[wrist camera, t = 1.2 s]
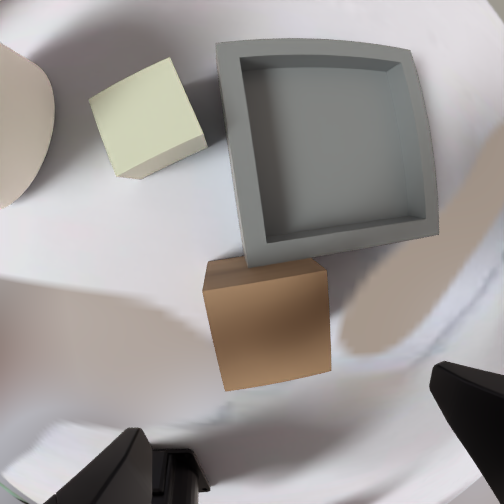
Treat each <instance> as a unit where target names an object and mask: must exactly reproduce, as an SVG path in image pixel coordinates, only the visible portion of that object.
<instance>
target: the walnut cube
mask: <svg viewBox="0 0 504 504" xmlns="http://www.w3.org/2000/svg"><path fill="white" fill-rule="evenodd" d="M202 292H203V297H204V302H205V306H206V311H207V316H208V320H209V325H210V330H211V334H212V339H213V343H214V347H215V352H216V356H217V360H218V364H219V368H220V372H221V377H222V381H223V385H224V389H225V391H232V390H239V389H246V388H252V387H258V386H264V385H269V384H274V383H280V382H285V381H290V380H294V379H299V378H303V377H308V376H312V375H316V374H321V373H325V372H329V371H331V339H330V314H329V295H328V280H327V270H326V269H325V268H324V267H322V266H321V265H320V264H318V263H317V262H316V261H314V260H313V259H312V258H307V259H301V260H295V261H289V262H283V263H277V264H271V265H265V266H259V267H253V268H248V266H247V263H246V260H245V257H244V256H241V257H234V258H228V259H222V260H216V261H209V262H208V264H207V269H206V274H205V279H204V285H203V290H202Z"/></svg>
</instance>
